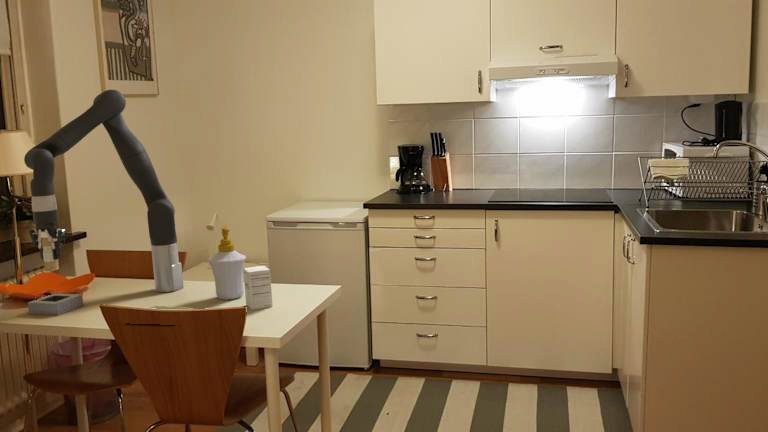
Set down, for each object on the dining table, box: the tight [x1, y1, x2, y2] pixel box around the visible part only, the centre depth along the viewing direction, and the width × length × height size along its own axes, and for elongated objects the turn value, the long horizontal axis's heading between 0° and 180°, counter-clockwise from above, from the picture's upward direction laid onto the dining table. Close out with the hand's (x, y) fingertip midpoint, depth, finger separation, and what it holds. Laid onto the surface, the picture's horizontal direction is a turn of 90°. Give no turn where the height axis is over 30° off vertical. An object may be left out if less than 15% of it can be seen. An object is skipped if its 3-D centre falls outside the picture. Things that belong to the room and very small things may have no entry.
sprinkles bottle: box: [40, 232, 60, 272], centre depth 243 cm, size 5×5×13 cm
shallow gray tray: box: [27, 292, 84, 317], centre depth 252 cm, size 26×21×4 cm
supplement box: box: [243, 265, 273, 311], centre depth 237 cm, size 7×7×13 cm
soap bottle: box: [208, 225, 247, 301], centre depth 250 cm, size 13×13×25 cm
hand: (50, 259), depth 243 cm, fingers closed on sprinkles bottle, 4 cm apart
